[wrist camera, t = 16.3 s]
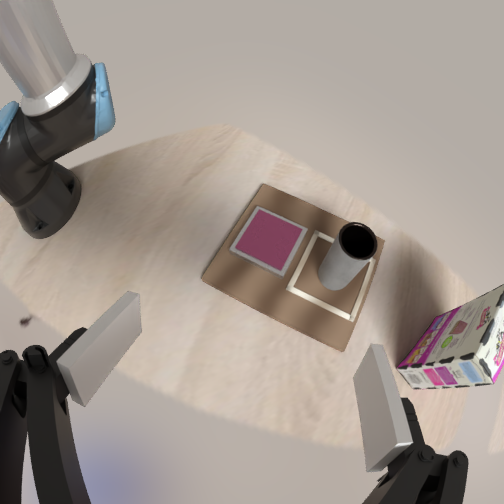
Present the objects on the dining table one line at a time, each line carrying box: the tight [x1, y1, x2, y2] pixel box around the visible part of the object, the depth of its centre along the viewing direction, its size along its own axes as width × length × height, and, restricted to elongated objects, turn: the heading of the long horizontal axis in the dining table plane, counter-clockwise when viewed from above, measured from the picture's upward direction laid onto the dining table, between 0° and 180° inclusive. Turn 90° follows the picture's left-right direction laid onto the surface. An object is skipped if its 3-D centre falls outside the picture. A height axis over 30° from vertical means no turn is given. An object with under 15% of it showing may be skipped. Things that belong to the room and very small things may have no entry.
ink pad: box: [229, 206, 308, 279], centre depth 38 cm, size 8×8×2 cm
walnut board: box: [201, 184, 385, 352], centre depth 38 cm, size 21×18×1 cm
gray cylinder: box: [318, 222, 378, 290], centre depth 32 cm, size 4×4×10 cm
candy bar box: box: [397, 284, 504, 389], centre depth 25 cm, size 11×5×16 cm, turn 128°
